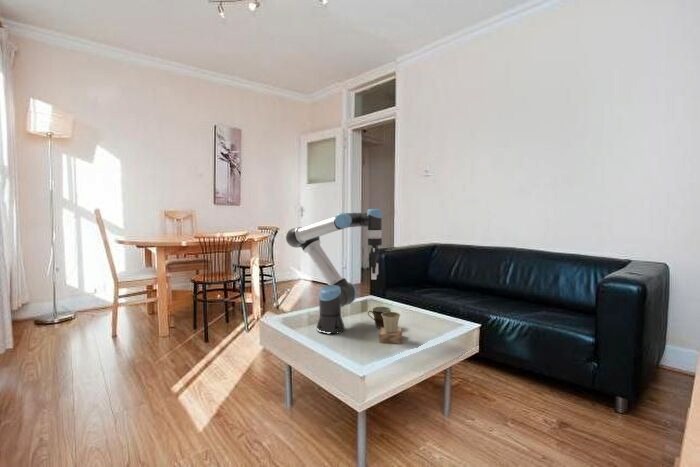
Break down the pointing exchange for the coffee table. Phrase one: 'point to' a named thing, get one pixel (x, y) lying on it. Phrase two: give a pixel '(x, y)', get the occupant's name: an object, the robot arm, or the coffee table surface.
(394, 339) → the stand
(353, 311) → the coffee table surface
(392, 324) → the flower pot
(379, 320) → the ceramic cup
